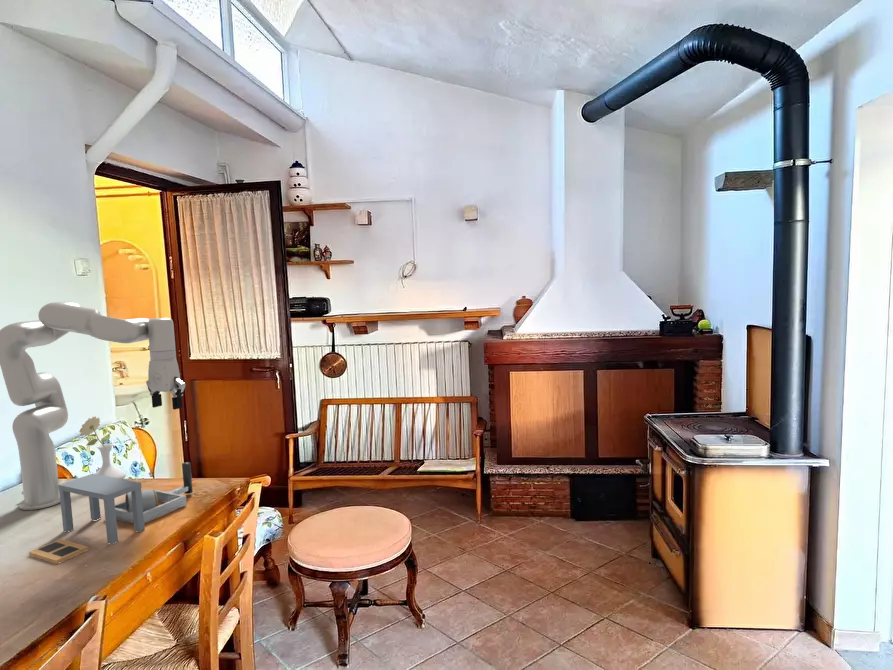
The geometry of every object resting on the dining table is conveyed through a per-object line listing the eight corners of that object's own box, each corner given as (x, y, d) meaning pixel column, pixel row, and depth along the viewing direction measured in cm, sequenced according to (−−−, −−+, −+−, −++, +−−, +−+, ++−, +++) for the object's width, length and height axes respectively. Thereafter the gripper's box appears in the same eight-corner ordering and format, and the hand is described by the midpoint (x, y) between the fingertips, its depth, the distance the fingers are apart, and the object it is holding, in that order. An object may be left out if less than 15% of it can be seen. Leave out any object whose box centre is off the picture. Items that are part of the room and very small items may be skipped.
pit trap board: (29, 555, 148) (29, 551, 148) (61, 542, 155) (60, 538, 155) (56, 564, 143) (56, 560, 143) (88, 550, 150) (87, 546, 150)
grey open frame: (107, 517, 170) (104, 483, 169) (176, 489, 192) (174, 459, 191) (140, 525, 164) (137, 490, 163) (207, 495, 186) (205, 464, 185)
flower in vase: (117, 475, 211) (111, 409, 208) (132, 480, 204) (126, 413, 202) (78, 486, 200) (72, 417, 198) (93, 492, 193) (86, 421, 191)
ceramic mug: (159, 514, 172) (157, 490, 172) (129, 522, 167) (127, 497, 167) (152, 505, 181) (150, 481, 180) (123, 512, 176) (121, 488, 175)
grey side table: (62, 531, 162) (58, 484, 161) (97, 518, 171) (92, 473, 170) (111, 544, 153) (107, 495, 151) (145, 529, 162) (141, 482, 160)
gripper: (134, 356, 182) (139, 408, 184) (171, 358, 175) (175, 412, 176) (155, 353, 189) (159, 403, 191) (191, 355, 182) (195, 407, 183)
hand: (167, 407), depth 184 cm, fingers open, 9 cm apart
